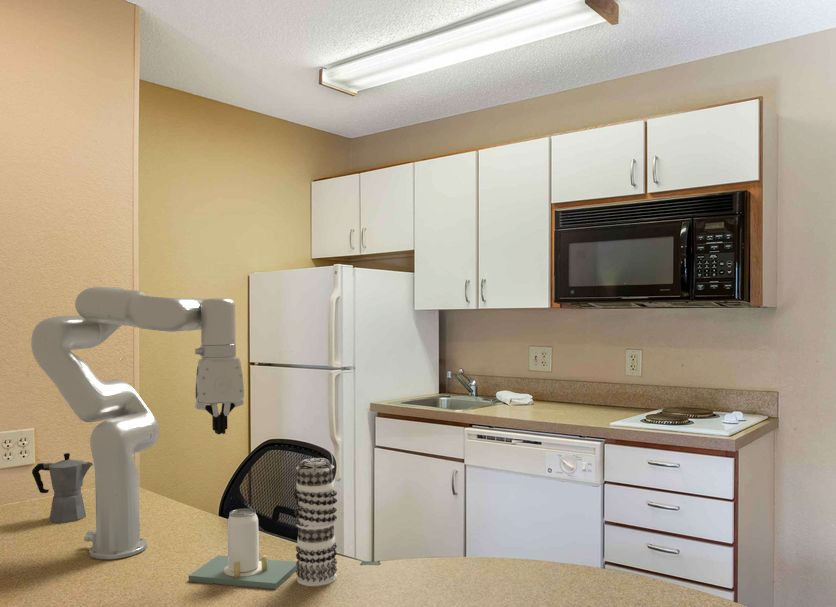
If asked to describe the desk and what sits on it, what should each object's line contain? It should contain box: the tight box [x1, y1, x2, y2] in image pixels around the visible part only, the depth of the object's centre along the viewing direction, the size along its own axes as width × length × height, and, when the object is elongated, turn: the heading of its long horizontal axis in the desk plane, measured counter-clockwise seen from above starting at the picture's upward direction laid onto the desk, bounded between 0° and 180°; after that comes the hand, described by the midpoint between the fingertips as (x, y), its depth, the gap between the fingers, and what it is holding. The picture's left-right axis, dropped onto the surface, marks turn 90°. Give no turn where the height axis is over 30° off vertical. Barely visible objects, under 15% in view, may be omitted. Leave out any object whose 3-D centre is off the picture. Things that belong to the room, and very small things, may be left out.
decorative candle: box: [292, 457, 338, 587], centre depth 147 cm, size 9×9×25 cm
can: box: [226, 508, 260, 573], centre depth 150 cm, size 6×6×12 cm
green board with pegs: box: [188, 546, 297, 590], centre depth 150 cm, size 20×12×4 cm, turn 76°
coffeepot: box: [31, 452, 94, 524], centre depth 192 cm, size 15×9×18 cm, turn 103°
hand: (220, 433), depth 158 cm, fingers closed
